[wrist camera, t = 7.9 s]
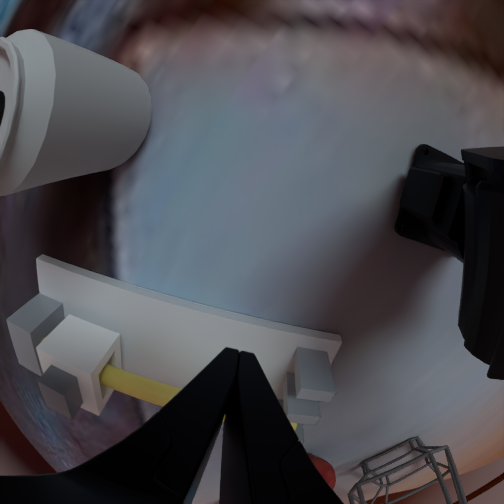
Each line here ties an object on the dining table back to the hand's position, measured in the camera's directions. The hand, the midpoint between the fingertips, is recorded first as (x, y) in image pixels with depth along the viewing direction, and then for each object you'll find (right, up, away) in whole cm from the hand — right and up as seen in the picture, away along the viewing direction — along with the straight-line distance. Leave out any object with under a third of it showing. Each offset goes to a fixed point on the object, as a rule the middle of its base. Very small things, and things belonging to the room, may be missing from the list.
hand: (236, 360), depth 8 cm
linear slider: (-7, -6, +15) cm, 18 cm away
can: (-9, +13, +9) cm, 18 cm away
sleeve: (-13, -5, +13) cm, 19 cm away
